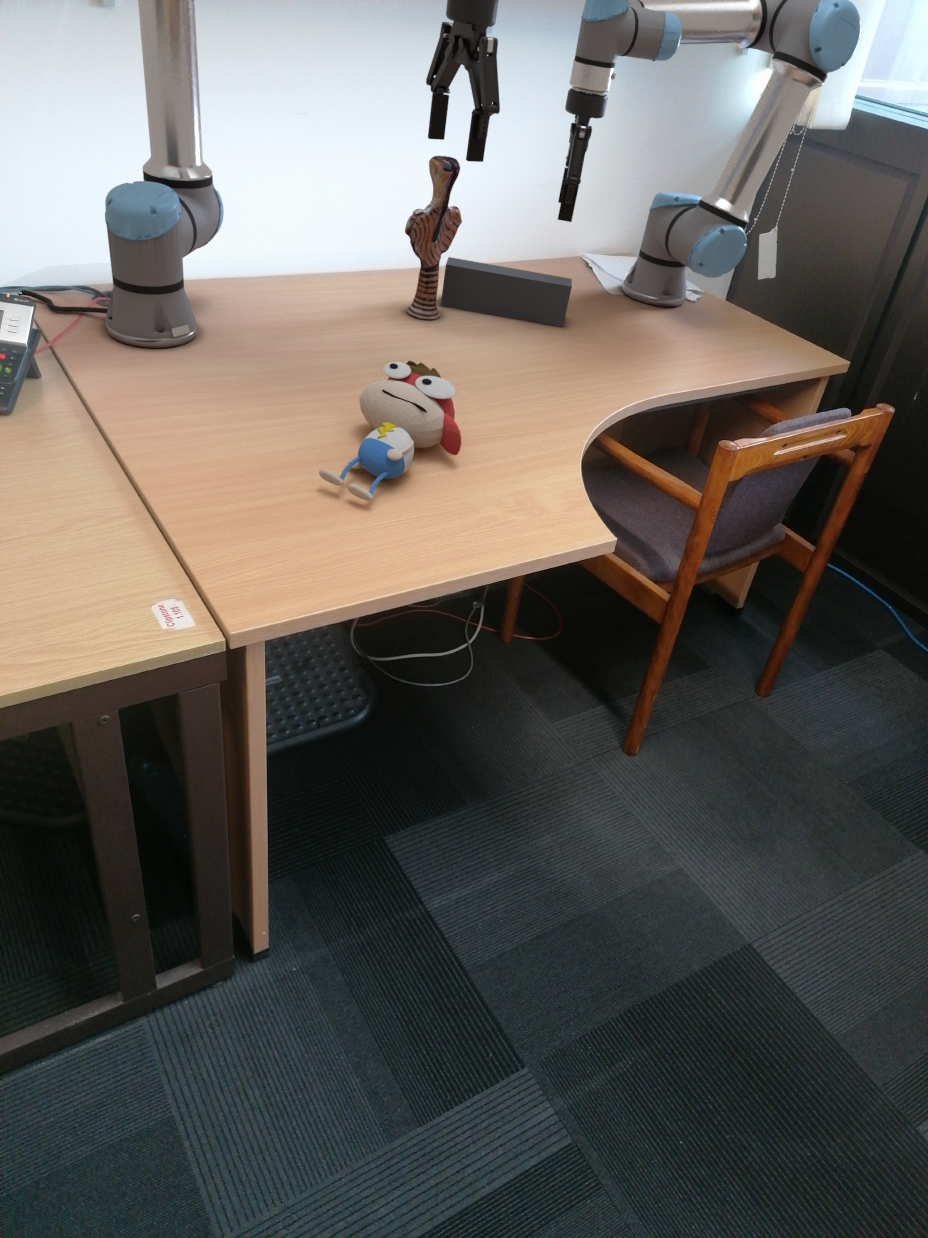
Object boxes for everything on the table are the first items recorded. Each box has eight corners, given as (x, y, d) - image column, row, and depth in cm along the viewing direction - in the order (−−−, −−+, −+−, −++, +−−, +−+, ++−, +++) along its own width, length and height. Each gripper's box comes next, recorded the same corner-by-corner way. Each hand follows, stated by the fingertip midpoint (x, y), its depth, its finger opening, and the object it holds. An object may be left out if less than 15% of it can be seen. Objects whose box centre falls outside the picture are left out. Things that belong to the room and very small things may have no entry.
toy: (281, 425, 122) (398, 341, 141) (280, 482, 129) (391, 396, 148) (394, 483, 117) (499, 388, 137) (386, 539, 125) (486, 442, 144)
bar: (440, 305, 189) (445, 264, 183) (443, 297, 193) (448, 256, 188) (562, 327, 189) (571, 286, 184) (563, 318, 193) (571, 278, 188)
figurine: (432, 300, 190) (450, 146, 171) (461, 312, 187) (483, 156, 168) (388, 314, 180) (402, 152, 161) (417, 327, 177) (436, 163, 158)
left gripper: (539, 6, 124) (512, 171, 137) (457, -19, 140) (440, 131, 153) (493, 0, 121) (470, 170, 134) (414, -25, 137) (401, 128, 150)
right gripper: (611, 104, 155) (583, 231, 168) (606, 84, 174) (582, 199, 187) (569, 96, 155) (544, 224, 168) (568, 77, 174) (547, 193, 187)
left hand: (454, 149), depth 144 cm, fingers open, 13 cm apart
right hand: (564, 211), depth 178 cm, fingers open, 13 cm apart
